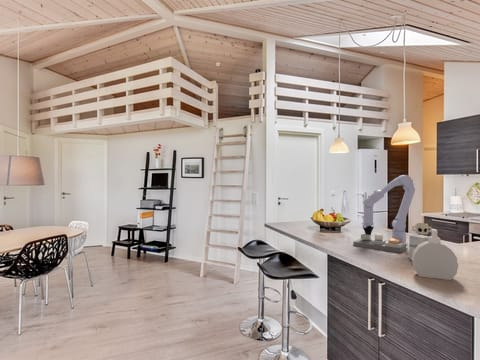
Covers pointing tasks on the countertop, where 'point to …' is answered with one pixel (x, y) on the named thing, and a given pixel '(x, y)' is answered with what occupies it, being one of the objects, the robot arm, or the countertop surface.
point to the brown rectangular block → (395, 241)
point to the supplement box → (415, 242)
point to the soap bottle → (434, 259)
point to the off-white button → (378, 237)
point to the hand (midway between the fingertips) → (368, 237)
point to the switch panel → (380, 245)
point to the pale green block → (365, 236)
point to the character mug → (421, 228)
